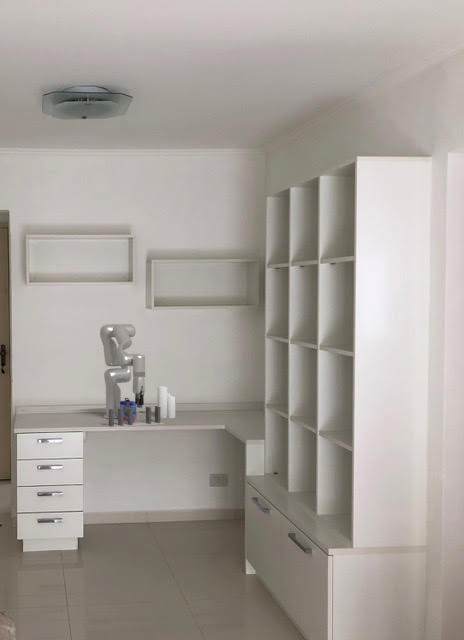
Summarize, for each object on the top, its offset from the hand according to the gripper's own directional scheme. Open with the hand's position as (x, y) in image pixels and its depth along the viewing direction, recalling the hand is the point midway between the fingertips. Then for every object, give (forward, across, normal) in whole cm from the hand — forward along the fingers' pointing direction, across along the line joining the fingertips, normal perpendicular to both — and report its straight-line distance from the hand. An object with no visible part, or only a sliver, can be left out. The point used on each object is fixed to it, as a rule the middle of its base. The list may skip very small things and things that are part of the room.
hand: (139, 404), depth 579 cm
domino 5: (+12, 0, +6) cm, 14 cm away
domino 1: (+12, 0, -18) cm, 22 cm away
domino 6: (+12, 0, +12) cm, 17 cm away
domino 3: (+12, 0, -6) cm, 14 cm away
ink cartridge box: (+13, -20, 0) cm, 24 cm away
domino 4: (+2, 0, 0) cm, 2 cm away
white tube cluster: (+13, -20, +26) cm, 35 cm away
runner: (+12, 0, -3) cm, 13 cm away
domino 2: (+12, 0, -12) cm, 17 cm away
